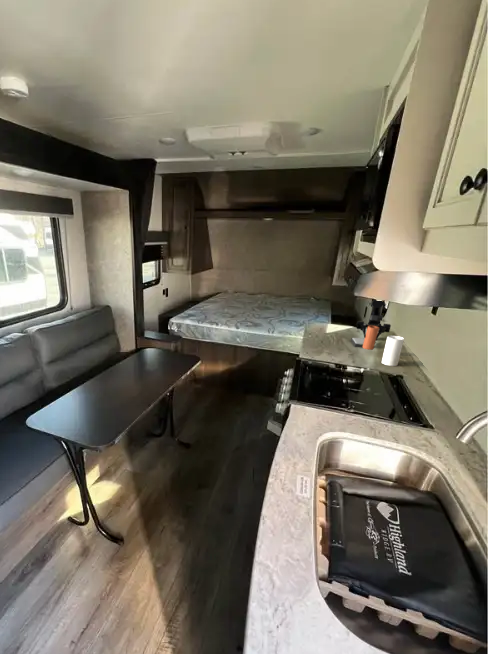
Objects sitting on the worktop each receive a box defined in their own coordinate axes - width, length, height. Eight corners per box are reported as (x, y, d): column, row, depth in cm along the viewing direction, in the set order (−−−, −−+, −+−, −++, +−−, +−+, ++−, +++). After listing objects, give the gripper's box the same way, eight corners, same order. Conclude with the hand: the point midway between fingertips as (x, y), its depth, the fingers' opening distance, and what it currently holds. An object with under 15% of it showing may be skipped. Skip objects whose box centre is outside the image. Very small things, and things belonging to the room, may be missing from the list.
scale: (350, 340, 238) (351, 337, 237) (367, 341, 235) (368, 338, 234) (354, 346, 224) (355, 343, 223) (372, 348, 222) (373, 344, 221)
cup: (399, 366, 190) (406, 339, 184) (384, 365, 192) (390, 339, 186) (394, 361, 198) (400, 335, 192) (379, 360, 199) (385, 335, 193)
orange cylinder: (361, 345, 212) (367, 325, 206) (372, 347, 211) (378, 326, 205) (363, 349, 207) (369, 327, 201) (374, 350, 205) (380, 329, 199)
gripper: (359, 308, 207) (354, 329, 202) (394, 311, 198) (389, 333, 193) (358, 318, 216) (353, 338, 212) (391, 321, 207) (387, 342, 203)
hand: (370, 338), depth 205 cm, fingers closed on orange cylinder, 6 cm apart
